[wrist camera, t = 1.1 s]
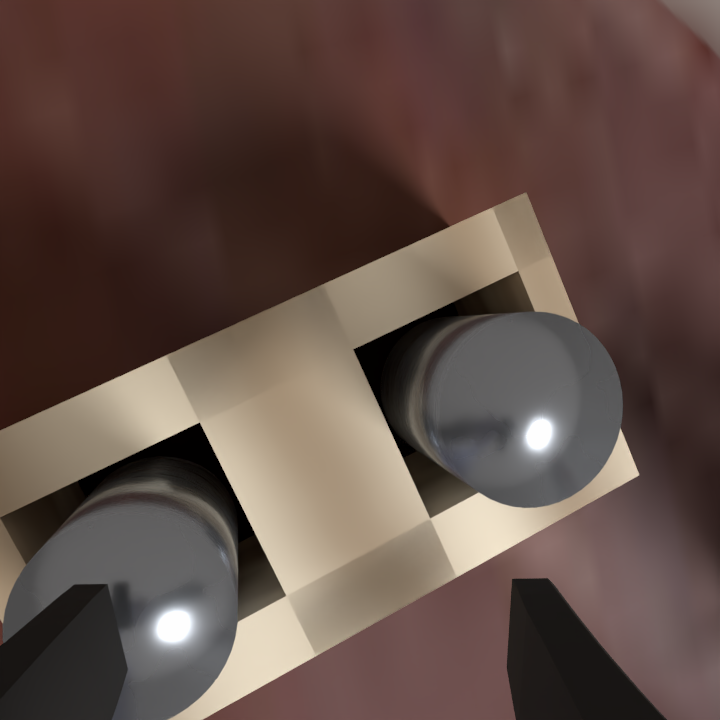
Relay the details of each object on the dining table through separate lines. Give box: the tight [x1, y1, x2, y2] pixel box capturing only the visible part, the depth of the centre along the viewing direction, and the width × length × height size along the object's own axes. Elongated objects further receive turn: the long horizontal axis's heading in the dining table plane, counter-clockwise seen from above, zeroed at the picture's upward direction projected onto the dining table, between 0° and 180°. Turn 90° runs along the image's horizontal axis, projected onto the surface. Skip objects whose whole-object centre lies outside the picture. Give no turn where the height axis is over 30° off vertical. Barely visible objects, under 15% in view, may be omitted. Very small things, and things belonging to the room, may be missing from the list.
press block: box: [0, 193, 639, 720], centre depth 19 cm, size 17×9×6 cm, turn 114°
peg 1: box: [3, 456, 238, 720], centre depth 15 cm, size 4×4×6 cm
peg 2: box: [381, 312, 623, 508], centre depth 16 cm, size 4×4×6 cm
